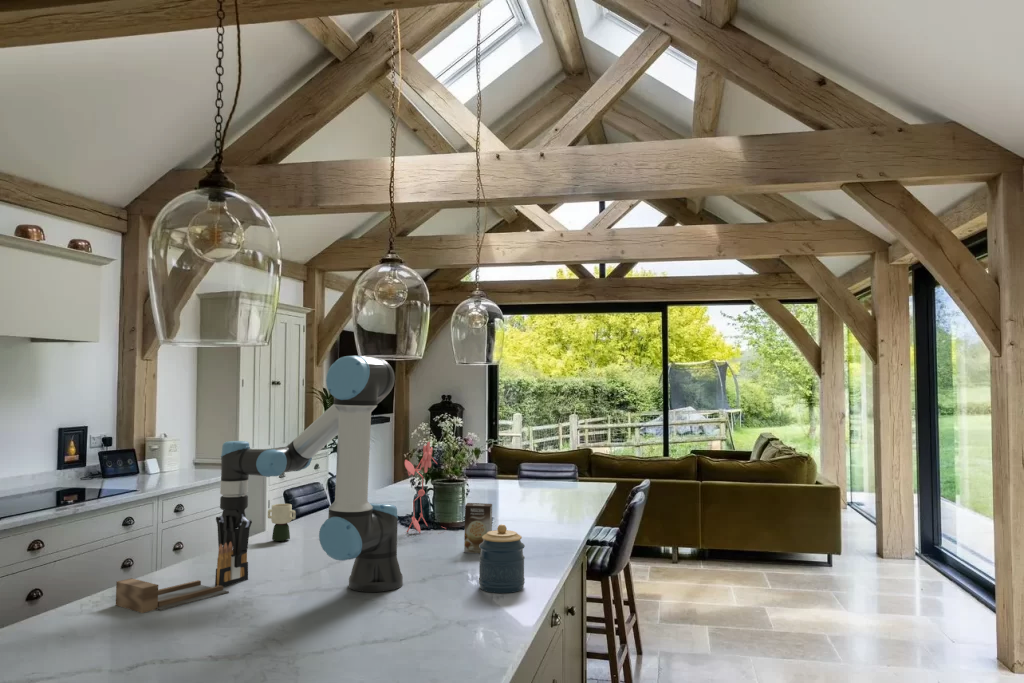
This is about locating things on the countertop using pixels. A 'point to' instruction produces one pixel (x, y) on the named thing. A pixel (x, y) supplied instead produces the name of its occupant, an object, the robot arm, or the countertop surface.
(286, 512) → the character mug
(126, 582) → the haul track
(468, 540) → the coffee box
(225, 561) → the ammunition clip
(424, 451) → the figurine
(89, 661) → the countertop surface
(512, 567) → the canister
